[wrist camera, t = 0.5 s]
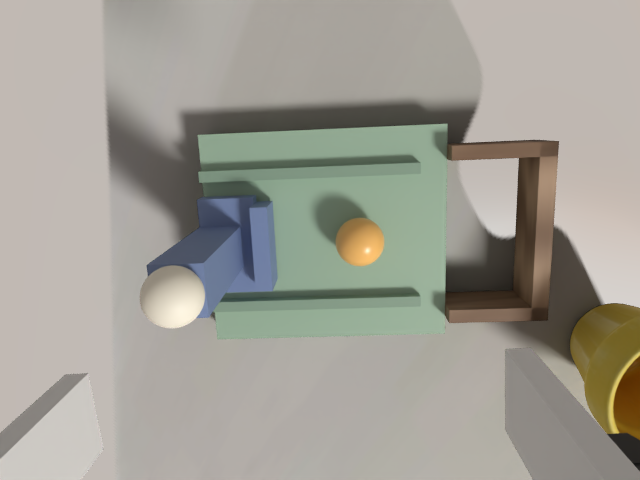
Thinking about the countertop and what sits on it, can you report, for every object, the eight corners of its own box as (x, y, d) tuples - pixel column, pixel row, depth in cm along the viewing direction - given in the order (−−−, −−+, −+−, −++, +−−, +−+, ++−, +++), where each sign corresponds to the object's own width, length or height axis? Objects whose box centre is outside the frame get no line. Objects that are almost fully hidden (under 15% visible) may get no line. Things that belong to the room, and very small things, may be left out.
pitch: (206, 134, 38) (194, 135, 35) (440, 123, 37) (450, 123, 34) (224, 326, 42) (215, 343, 38) (438, 321, 41) (446, 337, 38)
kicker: (201, 196, 36) (119, 238, 23) (272, 194, 36) (232, 233, 23) (209, 286, 38) (138, 375, 24) (278, 284, 38) (244, 372, 24)
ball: (334, 214, 37) (334, 223, 33) (381, 212, 36) (386, 221, 33) (336, 259, 37) (336, 273, 34) (382, 258, 37) (386, 271, 34)
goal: (440, 144, 38) (451, 145, 34) (535, 139, 37) (558, 141, 33) (438, 304, 40) (449, 322, 37) (527, 301, 40) (547, 320, 36)
